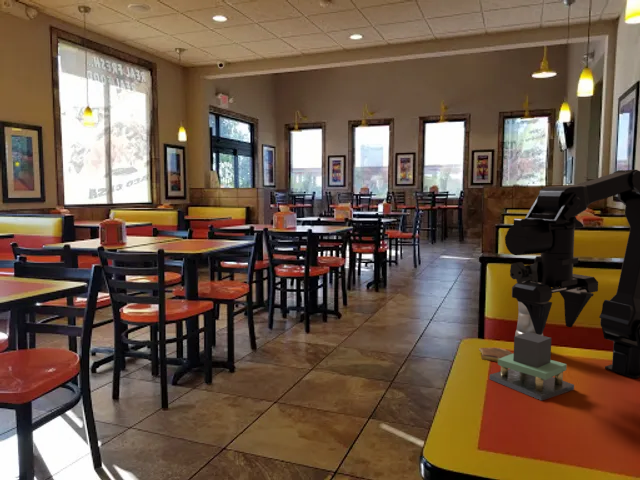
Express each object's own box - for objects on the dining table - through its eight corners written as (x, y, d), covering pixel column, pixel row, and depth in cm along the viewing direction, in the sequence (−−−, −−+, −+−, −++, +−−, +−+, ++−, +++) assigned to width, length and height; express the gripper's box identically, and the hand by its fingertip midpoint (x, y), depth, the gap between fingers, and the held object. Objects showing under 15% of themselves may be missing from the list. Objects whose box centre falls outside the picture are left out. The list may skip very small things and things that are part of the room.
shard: (526, 370, 107) (526, 362, 107) (491, 371, 107) (492, 363, 107) (506, 354, 118) (506, 347, 118) (474, 354, 118) (474, 347, 118)
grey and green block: (518, 356, 105) (520, 328, 104) (566, 370, 97) (567, 339, 96) (497, 364, 100) (498, 335, 99) (545, 379, 92) (547, 347, 91)
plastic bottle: (509, 349, 120) (512, 268, 118) (522, 343, 124) (525, 265, 122) (535, 356, 115) (539, 272, 113) (547, 350, 120) (551, 268, 118)
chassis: (521, 370, 106) (522, 354, 106) (573, 389, 96) (574, 372, 96) (489, 379, 101) (490, 362, 101) (541, 400, 91) (542, 382, 91)
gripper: (550, 244, 106) (548, 314, 108) (490, 251, 97) (488, 328, 99) (601, 249, 97) (597, 327, 99) (539, 258, 88) (536, 342, 89)
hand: (554, 330), depth 97 cm, fingers open, 9 cm apart
